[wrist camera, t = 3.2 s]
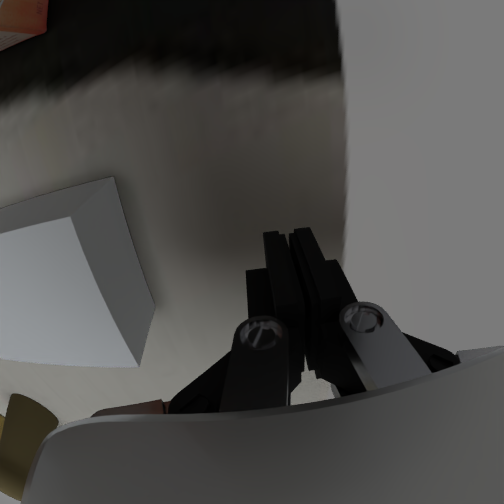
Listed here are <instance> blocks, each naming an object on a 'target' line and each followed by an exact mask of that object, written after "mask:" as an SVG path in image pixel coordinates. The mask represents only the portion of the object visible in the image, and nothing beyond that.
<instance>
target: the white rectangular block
mask: <svg viewBox="0 0 504 504" xmlns="http://www.w3.org/2000/svg"><path fill="white" fill-rule="evenodd" d="M154 310H155V305H154V302H153V299H152V297H151V294H150V291H149V289H148V286H147V283H146V280H145V277H144V275H143V272H142V269H141V266H140V263H139V260H138V257H137V254H136V251H135V248H134V245H133V242H132V239H131V236H130V232H129V229H128V226H127V223H126V219H125V216H124V213H123V209H122V206H121V202H120V198H119V195H118V191H117V187H116V184H115V180H114V176H113V177H109V178H105V179H101V180H97V181H92V182H88V183H85V184H81V185H77V186H73V187H69V188H66V189H62V190H59V191H55V192H52V193H48V194H45V195H41V196H38V197H35V198H32V199H28V200H25V201H22V202H19V203H16V204H13V205H10V206H7V207H4V208H1V209H0V359H6V360H13V361H22V362H31V363H41V364H53V365H67V366H86V367H140V363H141V359H142V355H143V351H144V347H145V343H146V339H147V336H148V332H149V328H150V325H151V321H152V317H153V314H154Z"/></svg>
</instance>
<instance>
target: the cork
mask: <svg viewBox="0 0 504 504" xmlns="http://www.w3.org/2000/svg"><path fill="white" fill-rule="evenodd" d="M57 425H58V420H57V418H56V417H55V416H54V415H53V414H52V413H51V412H50V411H49V410H47V409H46V408H45V407H43V406H42V405H40V404H39V403H37V402H35V401H34V400H32V399H30V398H28V397H25V396H23V395H20V394H12V395H11V397H10V400H9V404H8V408H7V412H6V416H5V421H4V425H3V430H2V434H1V439H0V491H1V492H3V493H4V494H7V495H8V496H10V497H12V498H14V499H16V500H19V501H21V500H22V496H23V491H24V487H25V483H26V480H27V476H28V473H29V470H30V467H31V464H32V462H33V459H34V457H35V455H36V452H37V450H38V448H39V446H40V445H41V443H42V442H43V440H44V439H45V438H46V436H47V435H48V434H49V433H50V432H52V431H53V430H55V429H56V427H57Z"/></svg>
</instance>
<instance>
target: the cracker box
mask: <svg viewBox="0 0 504 504" xmlns="http://www.w3.org/2000/svg"><path fill="white" fill-rule="evenodd" d="M48 1H49V0H0V51H2V50H4V49H6V48H8V47H11V46H13V45H15V44H17V43H20V42H22V41H24V40H27V39H29V38H31V37H34V36H37V35H40V34H43V33H45V32H46V30H47V26H46V24H47V11H48Z"/></svg>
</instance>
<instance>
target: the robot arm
mask: <svg viewBox="0 0 504 504" xmlns="http://www.w3.org/2000/svg"><path fill="white" fill-rule="evenodd" d="M263 239H264V249H265V259H266V268H262V269H254V270H246V284H247V302H248V319H247V320H245V321H244V322H242V323H241V324H240V325H239V326H238V327H237V329H236V331H235V334H234V338H233V343H232V348H231V351H230V352H228V353H227V354H226V355H225V356H224V357H222V358H221V359H220V360H219V361H218V362H216V363H215V364H214V365H213V366H211V367H210V368H209V369H208V370H206V371H205V372H204V373H203V374H201V375H200V376H199V377H198V378H196V379H195V380H194V381H193V382H191V383H190V384H189V385H188V386H186V387H185V388H184V389H183V390H181V391H180V392H179V393H177V394H176V395H175V396H174V398H173V399H172V400H171V401H168V402H163V401H162V399H160V400H155V401H150V402H144V403H139V404H133V405H127V406H121V407H114V408H108V409H103V410H100V411H97V412H96V413H95V414H93V415H92V416H91V418H85V419H82V420H78V421H74V422H71V423H68V424H65V425H62V426H60V427H58V428H56V429H55V430H53V431H52V432H50V433H49V434H48V435H47V436H46V438H45V439H44V440H43V442H42V443H41V445H40V446H39V448H38V450H37V452H36V455H35V457H34V459H33V462H32V464H31V467H30V470H29V473H28V476H27V480H26V483H25V487H24V491H23V496H22V500H21V504H504V346H496V347H488V348H480V349H472V350H463V351H457V353H456V355H454V354H452V352H450V351H448V350H446V349H444V348H441V347H438V346H436V345H433V344H431V343H428V342H425V341H423V340H420V339H418V338H415V337H413V336H410V335H408V334H405V333H403V332H401V330H400V329H399V328H398V326H397V325H396V324H395V323H394V321H393V320H392V319H391V318H390V316H389V315H388V314H387V312H386V311H385V310H384V309H383V308H382V307H380V306H378V305H376V304H374V303H370V302H358V301H357V299H356V297H355V294H354V293H353V290H352V288H351V286H350V284H349V282H348V280H347V278H346V276H345V274H344V272H343V271H342V269H341V267H340V265H339V263H338V261H337V260H335V259H334V260H326V261H325V258H324V256H323V254H322V252H321V250H320V248H319V246H318V243H317V241H316V239H315V237H314V235H313V233H312V231H311V229H310V227H307V228H298V229H294V233H289V247H288V244H287V240H286V237H285V234H280V235H279V232H278V231H272V232H263ZM289 249H290V250H289ZM305 357H306V361H307V365H308V369H309V371H311V370H315V374H316V379H319V378H322V379H324V380H326V381H328V382H330V383H331V390H332V392H333V395H334V397H335V398H334V399H328V400H323V401H317V402H311V403H305V404H298V405H291V392H292V391H293V390H294V389H295V388H296V387H297V386H298V384H299V383H300V382H301V372H304V362H305Z"/></svg>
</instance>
